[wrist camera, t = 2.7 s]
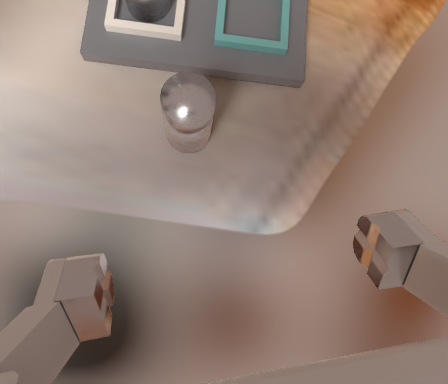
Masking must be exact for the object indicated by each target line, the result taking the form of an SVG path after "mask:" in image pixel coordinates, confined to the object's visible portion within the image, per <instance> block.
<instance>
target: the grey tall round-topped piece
mask: <svg viewBox="0 0 448 384" xmlns="http://www.w3.org/2000/svg"><path fill="white" fill-rule="evenodd" d="M126 4H127V8H128V11H129V12H130V14H131V15H132V16H133V17H134V18H135V19H137V20H139V21H141V22H145V23H154V22H158V21H160V20H162V19H163V18H164V17H165V16H166V15H167V14H168V12H169V10H170V0H126Z"/></svg>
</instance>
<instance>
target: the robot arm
mask: <svg viewBox="0 0 448 384" xmlns="http://www.w3.org/2000/svg"><path fill="white" fill-rule="evenodd" d="M357 226H358V228H359V229H360V230H359V232H358V233H357V234H356V235H355V236H354V241H353V248H354V253H355V255H356V257H357V259H358V261H359V262H360V263H361V264H363V265H364V266H366V267H368V271H367V274H368V276H369V277H370V278H371V280H372V281H373V283H374V284H375V286H376V287H377V289H378V290H379V289H384V288H385V289H386V288H393V287H400V286H403V288H405V289H406V290H408V291H409V292H411V293H412V294H414V295H415V296H416V297H418V298H420V299H421V300H422V301H424V302H425V303H427V304H428V305H430V306H431V307H433V308H434V309H436V310H437V311H439V312H440V313H442V314H443V315H444V316H446V317H447V318H448V242H446V241H439V240H438V239H437V238H436V237H435V236H434V235H433V234H432V233H431V232H430V231H429V230H428V229H427V228H426V227H425V226H424V225H423V224H422V223H421V222H420V221H419V220H418V219H417V218H416V217H415V216H414V215H413V214H412V213H411V212H410V211H408V210H406V209H403V210H396V211H390V212H384V213H378V214H371V215H364V216H361V217H360V218H359V220H358V224H357ZM106 268H107V260H106V257H105V255H104V254H103V253H99V254H90V255H82V256H74V257H68V258H60V259H52V260H50V261H49V262H48V263H47V264H46V267H45V270H44V273H43V276H42V279H41V282H40V285H39V288H38V291H37V294H36V297H35V300H34V303H33V305H32V306H28V307H26V308H25V309H24V310H23V311H22V312H21V313H20V314H18V315H17V316H16V317H15V318H14V319H13V320H12V321H11V322H10V323H9V324H8V325H7V326H6V327H5V328H3V330H1V331H0V384H52V382H53V381H54V380H55V378H56V377H57V375H58V374H59V372H60V371H61V370H62V368H63V367H64V365H65V364H66V362H67V361H68V359H69V358H70V357H71V355H72V354H73V352H74V351H75V349H76V348H77V347H78V345H79V342H81V341H85V340H91V339H96V338H100V337H106V336H110V328H111V320H112V315H111V311H110V309H109V307H110V306H111V305H112V304H113V301H114V284H113V278H112V275H111V272H109V271H107V270H106ZM203 384H448V336H444V337H439V338H434V339H429V340H424V341H419V342H413V343H408V344H403V345H398V346H393V347H388V348H383V349H378V350H372V351H368V352H362V353H357V354H352V355H347V356H342V357H337V358H331V359H326V360H322V361H316V362H311V363H306V364H301V365H295V366H290V367H285V368H280V369H275V370H270V371H265V372H259V373H254V374H250V375H244V376H239V377H234V378H229V379H223V380H218V381H214V382H209V383H203Z"/></svg>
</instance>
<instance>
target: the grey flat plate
mask: <svg viewBox="0 0 448 384" xmlns="http://www.w3.org/2000/svg"><path fill="white" fill-rule="evenodd" d="M306 22H307V0H170V10H169V12H168V14H167V15H166V16H165V17H164V18H163V19H162V20H160V21H158V22H154V23H145V22H141V21H139V20H137V19H135V18H134V17H133V16H132V15H131V14H130V12H129V11H128V8H127V4H126V0H89V4H88V10H87V16H86V21H85V27H84V33H83V38H82V44H81V49H80V53H81V55H82V57H83V59H84V60H85V61H93V62H101V63H108V64H116V65H124V66H132V67H140V68H148V69H156V70H164V71H171V72H179V73H181V72H194V73H197V74H200V75H203V76H211V77H219V78H227V79H235V80H242V81H250V82H258V83H266V84H274V85H282V86H290V87H298V88H300V86H301V85H302V83H303V82H304V70H305V46H306Z"/></svg>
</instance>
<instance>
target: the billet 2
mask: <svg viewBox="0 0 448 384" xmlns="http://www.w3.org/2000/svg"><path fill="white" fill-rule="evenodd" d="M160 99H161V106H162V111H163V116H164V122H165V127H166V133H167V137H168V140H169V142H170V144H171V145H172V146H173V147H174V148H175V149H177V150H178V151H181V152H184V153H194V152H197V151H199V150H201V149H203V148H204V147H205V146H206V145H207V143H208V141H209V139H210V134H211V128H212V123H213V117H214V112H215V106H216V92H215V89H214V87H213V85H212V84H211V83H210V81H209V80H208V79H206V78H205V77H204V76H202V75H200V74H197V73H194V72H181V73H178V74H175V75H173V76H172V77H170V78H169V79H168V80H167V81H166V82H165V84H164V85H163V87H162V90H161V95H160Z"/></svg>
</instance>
